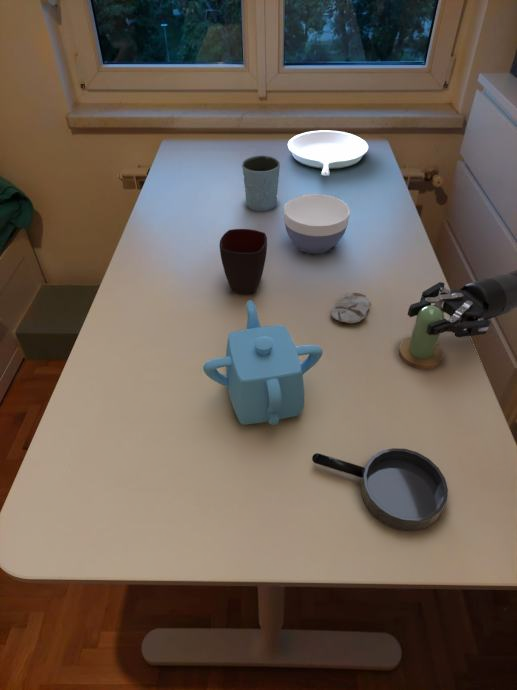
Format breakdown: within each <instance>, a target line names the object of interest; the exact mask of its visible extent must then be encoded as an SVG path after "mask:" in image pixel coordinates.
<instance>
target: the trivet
mask: <svg viewBox="0 0 517 690" xmlns="http://www.w3.org/2000/svg"><path fill="white" fill-rule="evenodd" d="M410 340H411V337H408V338H405V339H404V340H402V342H401V343H400V345H399V349H398V354H399V357H400V358H401V360H402V361H403V362H404V363H405V364H406V365H408V366H410V367H412V368H414V369H418V370H419V369H420V370H429V369H433V368H436V367H437V366H438V365H439V364H441V361H442V359H443V351H442V348H441V347H440V345H439V344H437V345H436V348H435V351H434V354H433V356H432V357H430V358H427V359H420V358H417V357H415V356H413V355H412V354H411V353H410V352H409V350H408V347H409V343H410Z"/></svg>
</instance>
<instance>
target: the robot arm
mask: <svg viewBox="0 0 517 690" xmlns="http://www.w3.org/2000/svg"><path fill="white" fill-rule="evenodd" d="M445 285H446V284H445V283H444V282H442V281H439V282H437V283H436V284H434V285H432V286H430V287H429V288H426V289H424V290H423V291H422V292H421V297H420V300H419V301H418V302H415V303H412V304H410V305H409V308H408V311H407V316H409V318H413V317H417V314H418V312H419V311H420V310H421V309H422V308H423V307H425V306H429V305H432V304H433V305H432V306H436V307H438V308H440V309H441V310H442V312H443V314H447V315H448V316H449V318H448V319H446V318H444V319H443V320H440V321H437V322H434V323H431V324H429V325H428V328H427V331H426V333H427V334H428V335H432V334H433V335H438V334H440V335H441V334H443V333H446V332H447V333H453V334H454V336H455V337H456V338H466V337H473V336H474V337H475V336H481V335H486V334H487V333H488V330H489V328H490V325H491V320H490V319H494V318H496V317H499V316H502V315H505V314H509V313H510V312H512V311H514V310H516V309H517V269H516V270H512V271H509V272H506V273H502V274H495V275H492V276H489V277H486V278H483V279H479V280H476V281H473V282H470V283H467V284H465V285H464V286H462V287H461V288H460V289H451V290H450V289H448V288H446V287H445Z"/></svg>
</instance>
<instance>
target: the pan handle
mask: <svg viewBox="0 0 517 690" xmlns="http://www.w3.org/2000/svg"><path fill="white" fill-rule="evenodd" d="M311 461H312V462H313V463H314V464H316V465H319V466H321V467H325V468H329V469H332V470H335V471H338V472H342V473H344V474H348V475H350V476H354V477H357V478H362V479H363V474H364V471H365V466H361V465H359V464H355V463H351V462H348V461H344V460H341V459H338V458H335V457H332V456H327V455H326V454H322V453H319V452H318V453H317V452H315V453H313V455H312V457H311Z"/></svg>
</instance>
